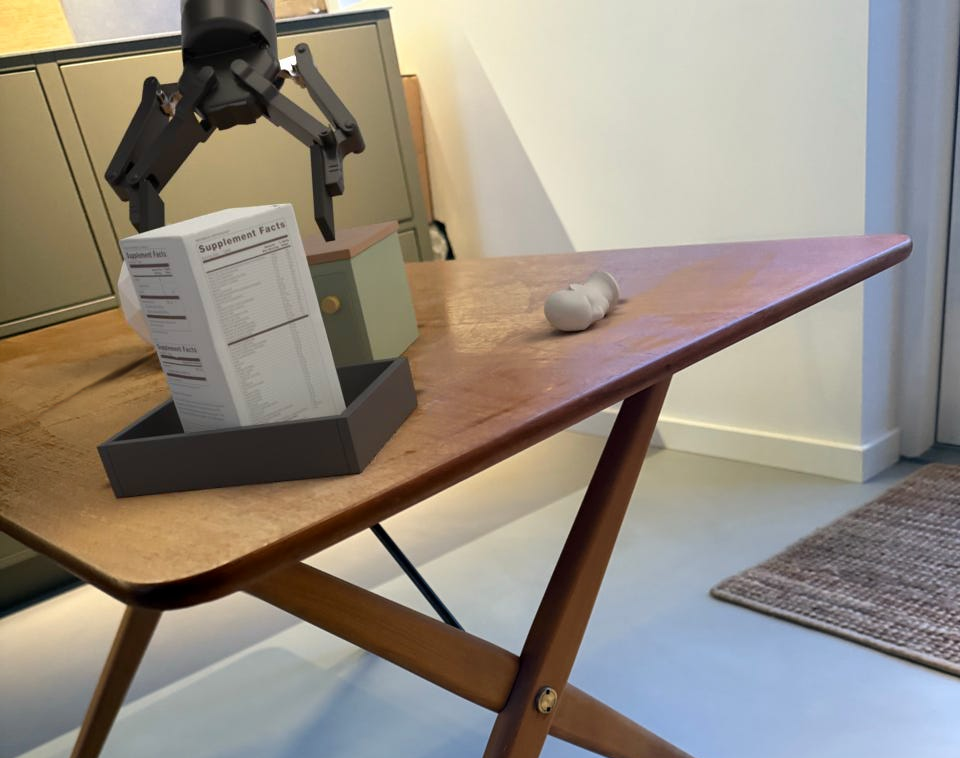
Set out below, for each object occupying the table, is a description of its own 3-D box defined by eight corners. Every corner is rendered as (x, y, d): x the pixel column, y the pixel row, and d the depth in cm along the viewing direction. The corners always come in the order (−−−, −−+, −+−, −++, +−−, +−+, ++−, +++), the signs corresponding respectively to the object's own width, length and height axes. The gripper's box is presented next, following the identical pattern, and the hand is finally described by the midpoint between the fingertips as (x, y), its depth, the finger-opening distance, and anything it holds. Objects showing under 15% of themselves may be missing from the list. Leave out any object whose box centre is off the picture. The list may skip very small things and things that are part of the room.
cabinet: (251, 397, 95) (214, 272, 90) (311, 351, 108) (281, 240, 103) (376, 381, 92) (345, 250, 87) (422, 335, 105) (397, 219, 99)
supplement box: (289, 422, 85) (227, 206, 77) (357, 433, 79) (297, 199, 71) (190, 465, 80) (113, 237, 72) (254, 480, 73) (177, 232, 65)
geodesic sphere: (72, 323, 116) (88, 207, 107) (159, 291, 127) (180, 183, 117) (175, 398, 115) (200, 288, 105) (254, 359, 125) (284, 255, 116)
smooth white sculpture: (572, 350, 93) (534, 329, 96) (634, 323, 97) (595, 304, 100) (575, 304, 90) (536, 285, 93) (639, 279, 94) (599, 261, 97)
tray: (115, 498, 76) (95, 446, 74) (203, 430, 88) (188, 385, 86) (360, 473, 70) (346, 416, 68) (418, 405, 83) (407, 355, 81)
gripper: (390, 28, 85) (410, 246, 79) (108, 91, 88) (108, 305, 82) (365, -53, 78) (386, 180, 72) (60, 19, 81) (56, 247, 75)
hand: (238, 247), depth 77 cm, fingers open, 13 cm apart
